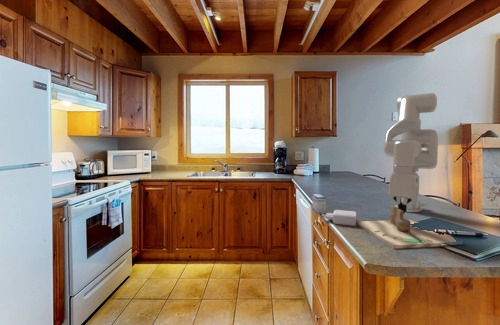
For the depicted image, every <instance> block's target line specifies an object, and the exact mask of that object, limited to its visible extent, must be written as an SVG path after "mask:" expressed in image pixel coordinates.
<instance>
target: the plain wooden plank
mask: <svg viewBox="0 0 500 325" xmlns="http://www.w3.org/2000/svg"><path fill="white" fill-rule="evenodd" d="M389 220H390V222H392V223H393V224H395V225H396V226H397V229H398V230H400V231H406V232H407V233H409V234H410V235H412V236H413V237H414V238H416V239H417V240H419V241H420V242H422V240H421V239H419V238H418V237H416V236H415V235H413V234H412V233H410V232H409V231H410V221H409V219H406V218H404V214H403V211H402V210H400V209H399V208H397V207H395V206H394V205H391V204H390V205H389Z"/></svg>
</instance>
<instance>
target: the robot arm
mask: <svg viewBox="0 0 500 325" xmlns="http://www.w3.org/2000/svg"><path fill="white" fill-rule="evenodd" d="M437 97H438V96H437V95H436V94H435V93H433V92H431V93H422V94H421V93H419V94H409V95H408V94H407V95H404V96H400V97H398V98H397V100H396V110H397V114H398V118H397V122H396V123H394V124H393V125H392V126H391V127H390V128H389V129H388V131H387V132H386V133H385V137H384V143H383V152H384V153H383V154H384V155H385V156H386V157H390V158H393V169H392V170H393V171H392V172H391V174H390V178H389V185H388V195H387V197H388V198H389V199H390V200H391V199H392V200H393V201H394V202H396V204H395V205H393V206H395V207H397V208H399V209H400V210H402V211H403V215H404V214H405V213H420V212H422V211H423V208H422V207H427V205H428V203H427V201H426V202H425V201H422V202H421V201H419V199H420V198H419V197H420V196H419V195H420V176H419V174H418V173H417V172H419V169H421V170H433V169H436V167H437V164H438V152H439V150H438V147H439V135H438V133H437V131H436V130H434V129H431V128H429V129H421V125H422V124H421V122H422V120H421V119H420V115H421V114H425V113H433V112H435V111H436V109H437V105H438V98H437ZM399 135H401V137H400V139H399V140H398V139H395V138H396V137H397V136H399ZM422 149H423V150H422Z"/></svg>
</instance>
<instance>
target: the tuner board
mask: <svg viewBox="0 0 500 325" xmlns="http://www.w3.org/2000/svg"><path fill="white" fill-rule="evenodd" d="M408 220H409V221H410V224H414V223H419V222H418V221H416V220H413V219H408ZM356 226H358V228H361V229H362V230H364V231H365V232H367V233H369V234H370V235H371V236H373V237H374V238H376V239H378V240H380V241H381V242H382V243H384V244H385V245H387V246H389V247H390V248H392V249H393V250H394V249H411V248H431V247H432V248H433V247H441V246H440V245H441V244H444V243H452V242H456V240H455V239H454V238H455V237H454V236H451V235H449V234H447V233H444V235H442V234H441V235H439V234H438V233H435V232H433V231H427V230H418V229H419V228H418V229H416V228H417V227H411V226H412V225H410V231H409V232H410V233H412V234H413V235H415V236H416V237H418V238H419V239H421V240H422V242H420V241H419V240H417V239H416V238H414V237H413V236H412V235H410V234H409V233H407V232H406V231H400V230H398V229H397V226H396V225H395V224H393V223H392V222H390V219H389V220H387V219H386V220H371V221H370V220H366V221H365V220H363V221H361V220H360V221H356ZM453 237H454V238H453Z"/></svg>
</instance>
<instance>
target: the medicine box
mask: <svg viewBox="0 0 500 325" xmlns="http://www.w3.org/2000/svg"><path fill="white" fill-rule="evenodd" d="M311 202H312V204H311V205H312V206H311V207H312V212H315V214H317V215H322V214H325V215H326V204H327V201H326V197H325V196H324V195H322V194H321V193H320V194H319V193H314V194H312V201H311Z"/></svg>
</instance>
